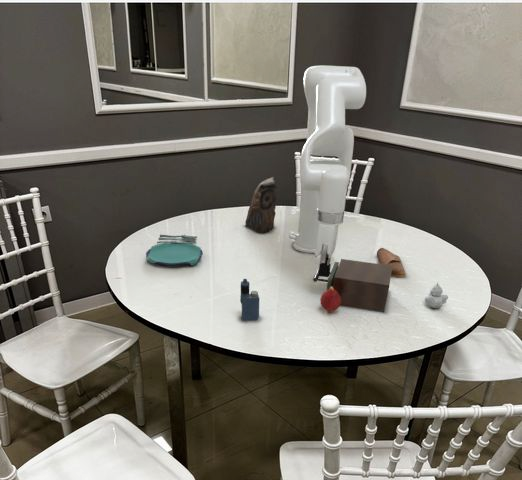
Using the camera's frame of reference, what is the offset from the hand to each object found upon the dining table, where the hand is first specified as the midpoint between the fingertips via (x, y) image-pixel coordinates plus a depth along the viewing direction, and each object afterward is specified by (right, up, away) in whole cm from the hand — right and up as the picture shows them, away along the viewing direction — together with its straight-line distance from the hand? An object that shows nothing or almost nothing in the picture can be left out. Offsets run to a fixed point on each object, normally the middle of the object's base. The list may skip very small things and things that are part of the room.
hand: (323, 275), depth 145 cm
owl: (-20, +28, +53) cm, 63 cm away
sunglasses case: (+27, +6, +22) cm, 35 cm away
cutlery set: (-50, +12, +27) cm, 58 cm away
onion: (+1, -12, -8) cm, 14 cm away
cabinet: (+11, -7, +1) cm, 13 cm away
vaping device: (-23, -14, -12) cm, 29 cm away
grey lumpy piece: (+33, -10, -3) cm, 35 cm away
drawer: (+7, -5, +1) cm, 8 cm away
